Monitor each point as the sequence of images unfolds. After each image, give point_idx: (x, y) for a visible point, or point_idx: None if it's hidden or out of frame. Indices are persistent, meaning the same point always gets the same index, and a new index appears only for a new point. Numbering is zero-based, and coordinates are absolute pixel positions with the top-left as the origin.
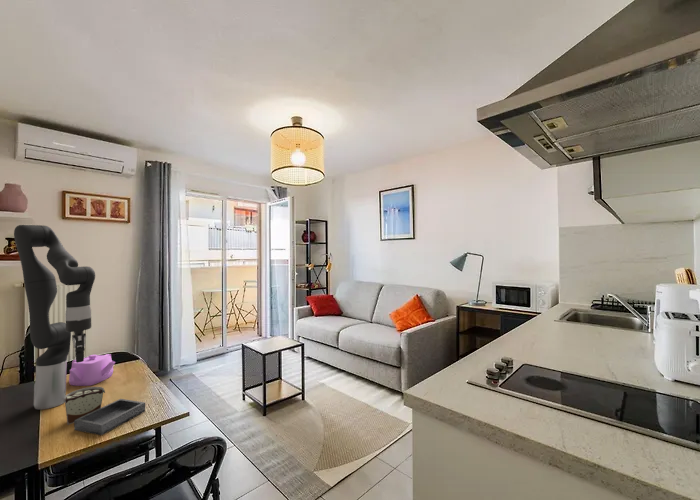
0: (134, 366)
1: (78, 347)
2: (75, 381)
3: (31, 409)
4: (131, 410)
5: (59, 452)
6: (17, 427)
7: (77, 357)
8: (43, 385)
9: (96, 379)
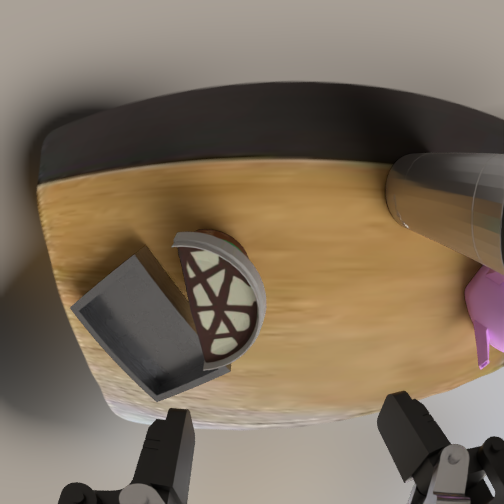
0: None
1: (421, 468)
2: None
3: (412, 146)
4: (127, 371)
5: (54, 217)
6: (289, 105)
7: (151, 448)
8: (441, 173)
9: (471, 307)
